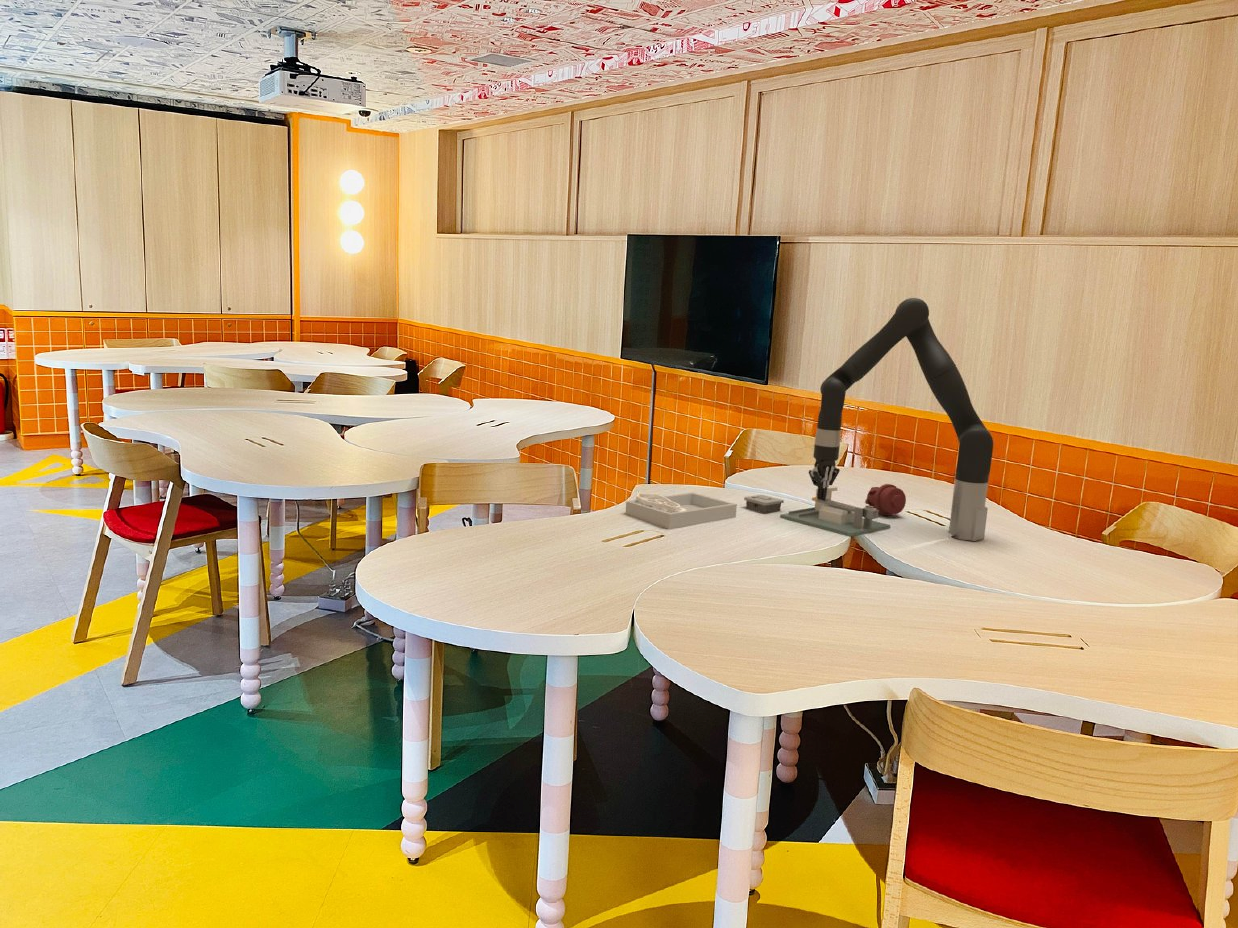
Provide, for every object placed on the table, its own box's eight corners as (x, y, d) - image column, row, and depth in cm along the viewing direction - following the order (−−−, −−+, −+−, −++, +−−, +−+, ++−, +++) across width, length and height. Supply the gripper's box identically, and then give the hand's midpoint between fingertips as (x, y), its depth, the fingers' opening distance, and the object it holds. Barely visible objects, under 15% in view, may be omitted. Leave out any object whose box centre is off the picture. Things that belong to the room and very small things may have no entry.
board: (890, 528, 282) (892, 505, 281) (850, 536, 269) (852, 512, 268) (820, 510, 301) (822, 489, 300) (780, 517, 288) (781, 495, 287)
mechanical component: (859, 512, 304) (860, 482, 303) (883, 511, 308) (884, 481, 307) (885, 518, 293) (886, 486, 292) (909, 516, 297) (911, 485, 296)
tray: (735, 518, 285) (736, 504, 284) (669, 529, 266) (670, 514, 266) (691, 505, 299) (692, 492, 298) (625, 515, 280) (626, 501, 280)
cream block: (835, 512, 296) (837, 487, 294) (827, 513, 293) (829, 488, 292) (822, 508, 299) (824, 484, 298) (814, 510, 297) (816, 485, 295)
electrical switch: (742, 497, 297) (761, 489, 302) (743, 512, 298) (762, 504, 304) (765, 503, 290) (784, 495, 295) (765, 518, 291) (785, 510, 297)
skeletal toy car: (690, 531, 272) (692, 506, 270) (655, 532, 268) (657, 507, 266) (663, 515, 290) (664, 492, 289) (630, 516, 286) (631, 493, 285)
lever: (878, 518, 275) (879, 510, 275) (871, 519, 273) (872, 511, 272) (818, 501, 291) (818, 494, 291) (811, 502, 289) (812, 495, 289)
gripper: (823, 447, 278) (817, 503, 281) (850, 444, 286) (844, 499, 289) (803, 443, 283) (798, 498, 286) (830, 440, 292) (824, 494, 295)
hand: (821, 499), depth 288 cm, fingers closed
